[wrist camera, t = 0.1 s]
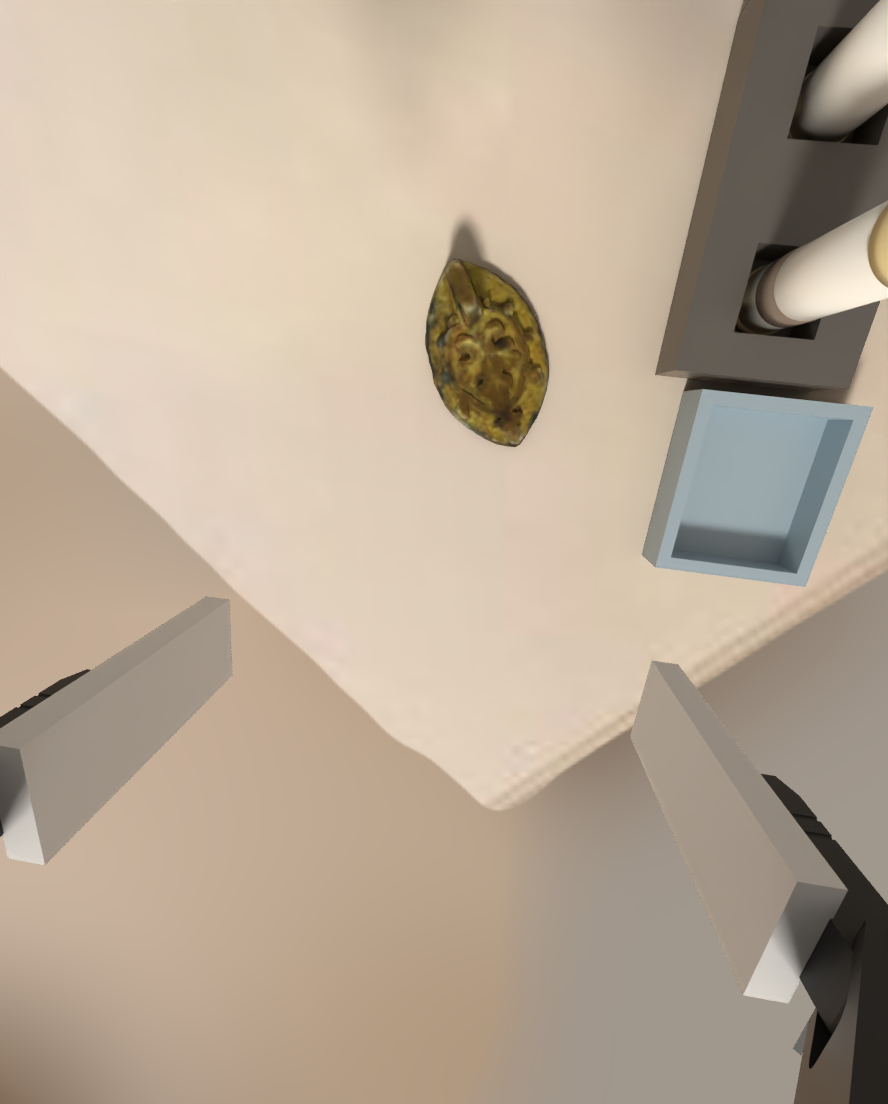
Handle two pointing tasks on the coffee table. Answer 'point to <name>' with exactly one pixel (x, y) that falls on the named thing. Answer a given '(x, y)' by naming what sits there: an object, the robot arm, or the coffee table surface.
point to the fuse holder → (773, 206)
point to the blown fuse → (820, 277)
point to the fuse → (846, 83)
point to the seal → (486, 353)
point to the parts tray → (752, 484)
